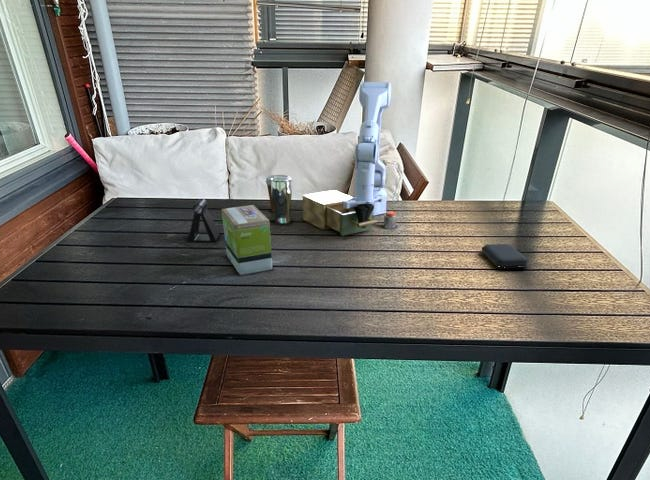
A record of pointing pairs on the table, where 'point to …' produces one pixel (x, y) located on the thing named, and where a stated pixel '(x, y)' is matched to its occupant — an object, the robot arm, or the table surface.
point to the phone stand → (208, 223)
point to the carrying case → (504, 256)
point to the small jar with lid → (390, 220)
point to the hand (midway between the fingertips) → (362, 227)
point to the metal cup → (268, 182)
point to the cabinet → (321, 206)
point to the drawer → (346, 220)
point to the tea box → (247, 239)
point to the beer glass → (281, 199)
